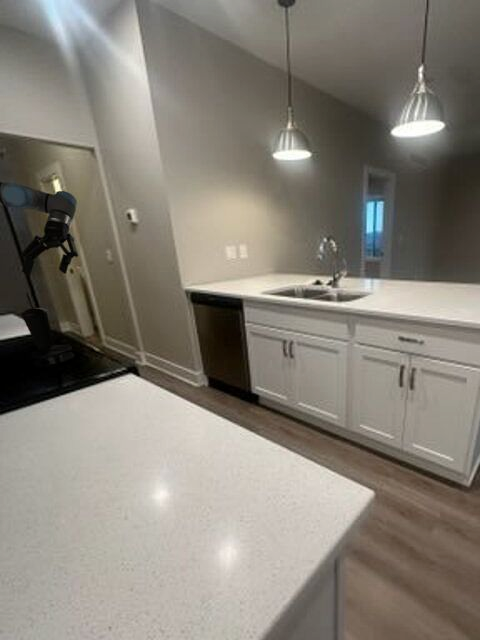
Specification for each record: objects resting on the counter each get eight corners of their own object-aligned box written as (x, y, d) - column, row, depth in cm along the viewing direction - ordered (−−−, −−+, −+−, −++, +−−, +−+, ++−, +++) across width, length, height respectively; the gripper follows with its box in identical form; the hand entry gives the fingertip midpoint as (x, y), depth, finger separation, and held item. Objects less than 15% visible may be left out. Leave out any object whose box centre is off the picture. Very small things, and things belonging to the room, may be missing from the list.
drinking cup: (44, 345, 128) (24, 291, 120) (64, 344, 128) (45, 290, 120) (28, 352, 121) (7, 296, 113) (49, 352, 120) (29, 295, 113)
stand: (26, 367, 108) (21, 356, 106) (57, 354, 117) (54, 343, 116) (52, 370, 105) (48, 358, 103) (83, 356, 114) (79, 345, 113)
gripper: (95, 231, 135) (84, 276, 127) (34, 235, 136) (19, 280, 128) (83, 217, 128) (70, 263, 120) (18, 221, 129) (2, 267, 121)
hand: (44, 272), depth 124 cm, fingers open, 13 cm apart
